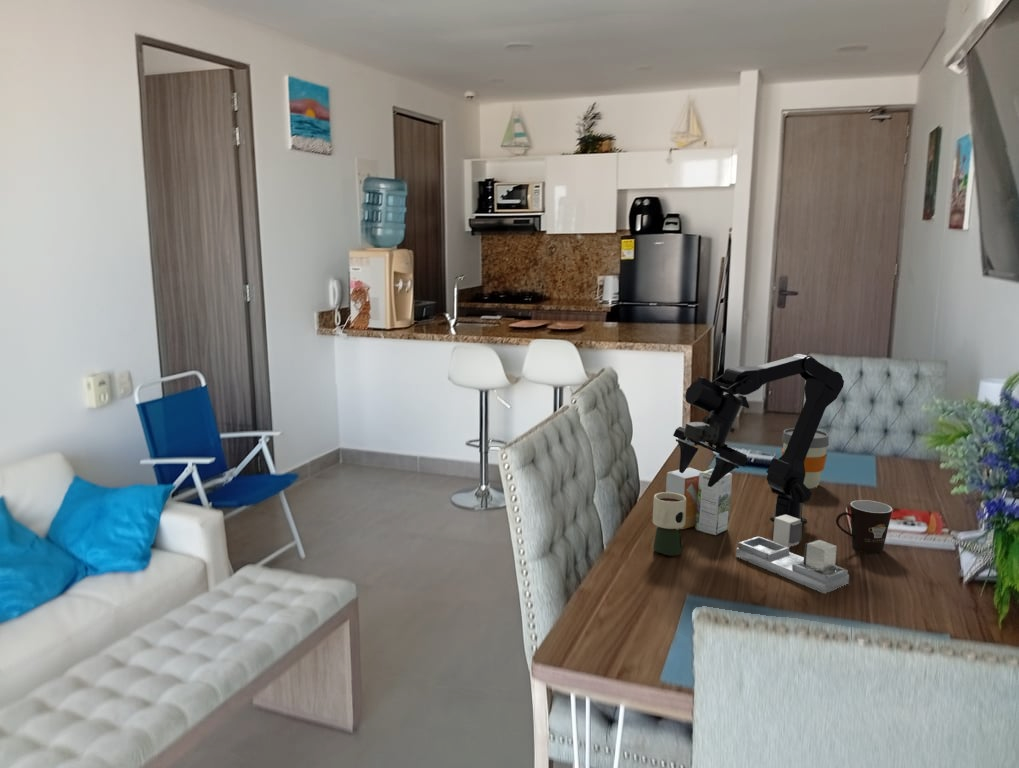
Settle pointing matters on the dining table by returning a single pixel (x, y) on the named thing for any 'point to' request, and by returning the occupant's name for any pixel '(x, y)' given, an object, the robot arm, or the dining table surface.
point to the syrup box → (713, 504)
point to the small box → (685, 491)
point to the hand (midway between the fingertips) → (694, 479)
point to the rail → (797, 562)
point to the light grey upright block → (787, 530)
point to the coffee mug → (868, 525)
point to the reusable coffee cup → (811, 456)
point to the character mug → (668, 522)
